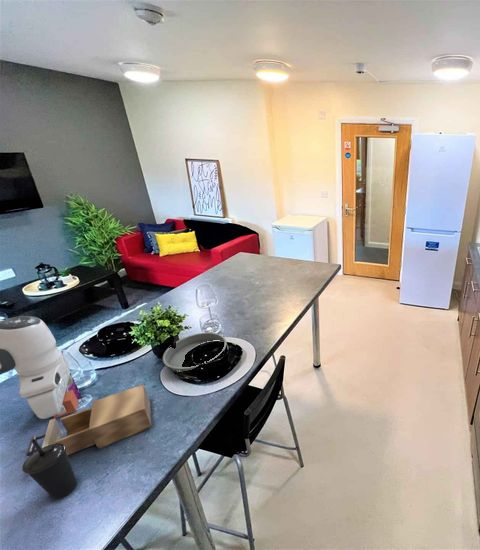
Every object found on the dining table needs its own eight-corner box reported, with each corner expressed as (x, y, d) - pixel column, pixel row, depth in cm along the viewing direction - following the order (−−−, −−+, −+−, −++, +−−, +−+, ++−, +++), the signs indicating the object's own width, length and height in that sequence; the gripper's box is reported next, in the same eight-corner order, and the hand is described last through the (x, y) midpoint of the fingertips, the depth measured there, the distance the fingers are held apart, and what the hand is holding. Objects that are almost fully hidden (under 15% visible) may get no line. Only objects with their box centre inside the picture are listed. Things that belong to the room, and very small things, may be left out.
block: (54, 418, 83) (47, 407, 81) (57, 407, 86) (51, 396, 84) (76, 411, 86) (70, 399, 84) (78, 400, 89) (72, 389, 87)
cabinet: (98, 449, 89) (88, 429, 86) (101, 419, 98) (92, 401, 95) (151, 426, 97) (144, 408, 93) (149, 401, 106) (143, 384, 102)
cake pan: (160, 353, 130) (158, 345, 128) (219, 333, 145) (217, 326, 143) (170, 386, 113) (167, 377, 111) (235, 360, 128) (233, 351, 126)
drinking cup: (38, 510, 74) (1, 460, 66) (53, 481, 80) (21, 432, 72) (77, 498, 77) (46, 448, 69) (88, 471, 83) (61, 422, 75)
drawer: (30, 473, 81) (19, 457, 79) (39, 442, 90) (30, 426, 87) (107, 441, 91) (99, 426, 88) (109, 416, 99) (102, 401, 96)
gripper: (36, 353, 85) (56, 387, 91) (16, 398, 70) (41, 436, 76) (66, 345, 89) (82, 379, 95) (53, 387, 74) (73, 424, 80)
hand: (64, 405), depth 85 cm, fingers closed on block, 4 cm apart
